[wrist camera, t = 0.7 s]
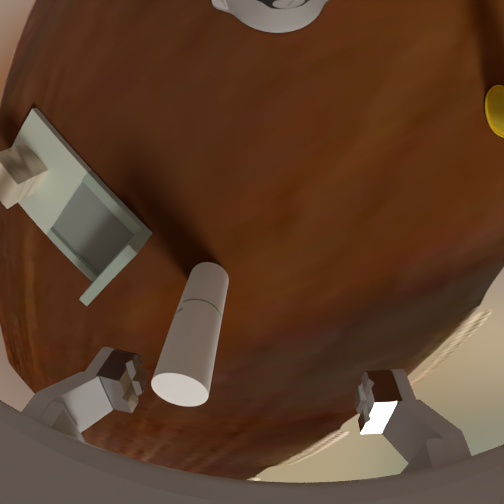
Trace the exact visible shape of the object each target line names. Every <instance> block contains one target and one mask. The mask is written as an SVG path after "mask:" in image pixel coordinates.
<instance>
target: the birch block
mask: <svg viewBox="0 0 504 504" xmlns="http://www.w3.org/2000/svg"><path fill="white" fill-rule="evenodd" d="M47 171H48V168H47V167H46V166H45V165H44V164H43V162H42V161H41V160H40V159H39V158H38V157H37V155H36V154H35V153H34V152H33V150H32V149H31V148H30V147H29V146H28V144H27V143H23V144H20V145H17V146H15V147H12V148H9V149H6V150H4V151H1V152H0V201H1V202H2V203H3V205H4V206H5V207H6V208H7V209H8V208H9V207H11V206H13V205H14V204H16V203H17V202H19V201H21V200H22V199H24V198H26V197H28V196H29V195H31V194H33V193H34V192H36V191H37V189H38V187H39V185H40V184H41V182H42V180H43V178H44V176H45V175H46V173H47Z"/></svg>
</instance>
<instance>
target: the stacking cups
mask: <svg viewBox="0 0 504 504" xmlns="http://www.w3.org/2000/svg"><path fill="white" fill-rule="evenodd" d="M484 107H485V115H486V119H487V121H488V124H489V126H490V127H491V129H492V130H493V131H494V132H495V133H496V134H497V135H498V136H501V137H504V86H502V85H495V86H493V87H491V88H490V89H489V91H488V92H487V94H486V97H485V104H484Z"/></svg>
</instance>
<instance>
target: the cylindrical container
mask: <svg viewBox="0 0 504 504" xmlns="http://www.w3.org/2000/svg"><path fill="white" fill-rule="evenodd" d="M228 281H229V279H228V275H227V273H226V271H225V270H224V269H223V268H222V267H221V266H219V265H217V264H215V263H211V262H203V263H200V264H198V265H196V266H195V267H194V268H193V269H192V271H191V273H190V276H189V279H188V281H187V284H186V287H185V289H184V292H183V294H182V297H181V300H180V302H179V305H178V308H177V310H176V313H175V316H174V319H173V321H172V324H171V327H170V330H169V332H168V335H167V338H166V341H165V344H164V347H163V350H162V352H161V355H160V358H159V361H158V364H157V367H156V370H155V373H154V376H153V379H152V383H151V385H152V388H153V390H154V391H155V392H156V394H157V395H159V396H160V397H161V398H163V399H164V400H166V401H168V402H171V403H173V404H176V405H181V406H197V405H201V404H203V403H204V402H206V401H207V399H208V396H209V390H210V384H211V378H212V372H213V366H214V361H215V355H216V349H217V343H218V338H219V332H220V326H221V321H222V315H223V310H224V304H225V299H226V293H227V288H228Z"/></svg>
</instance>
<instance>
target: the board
mask: <svg viewBox="0 0 504 504" xmlns="http://www.w3.org/2000/svg"><path fill="white" fill-rule="evenodd" d="M23 143H27V144H28V146H29V147H30V148H31V149H32V150H33V152H34V153H35V154H36V155H37V157H38V158H39V159H40V160H41V161H42V162H43V164H44V165H45V166H46V167H47V168H48V171H47V173H46V175H45V176H44V178H43V180H42V182H41V184H40V185H39V187H38V189H37V191H36V192H34V193H33V194H31V195H29V196H28V197H26V198H24V199H22V200H21V201H19V202H18V203H19V204H20V205H21V206H22V208H23V209H24V210H25V211H26V212H27V214H28V215H29V216H30V217H31V218H32V219H33V221H34V222H35V223H36V224H37V225H38V226H39V227H40V228H41V230H42V231H43V232H44V233H45V234H46V235H47V236H48V237H49V238H50V239H51V241H52V242H53V243H54V244H55V245H56V246H57V247H58V248H59V249H60V250H61V251H62V252H63V253H64V254H65V255H66V256H67V257H68V258H69V259H70V260H71V261H72V262H73V263H74V264H75V265H76V266H77V267H78V268H79V269H80V270H81V271H82V272H83V273H84V274H85V275H86V276H87V277H88V278H89V279H90V280H91V281H92V283H91V284H90V286H89V287H88V288H87V290H86V291H85V292H84V294H83V295H82V296H81V298H80V299H79V300H81V301H82V302H83V303H84V304H85V305H86V306H87V305H88V304H89V303H90V302H91V301H92V300H93V299H94V298H95V297H96V296H97V295H98V294H99V293H100V291H101V290H102V289H103V288H104V287H105V286H106V285H107V284H108V283H109V282H110V281H111V280H112V279H113V278H114V277H115V276H116V275H117V274H118V273H119V272H120V271H121V270H122V269H123V268H124V267H125V266H126V265H127V264H128V262H129V261H130V260H131V259H132V258H133V257H134V256H135V255H136V254H138V252H139V251H140V249H141V248H142V247H143V245H144V244H145V243H146V241H147V240H148V239H149V237H150V236H151V235H152V232H151V231H150V230H149V229H148V228H147V227H146V226H145V225H144V224H143V223H142V222H141V221H140V220H139V219H138V218H137V217H136V216H135V215H134V214H133V213H132V212H131V211H130V210H129V209H128V208H127V206H126V205H125V204H124V203H123V202H122V201H121V200H120V199H119V198H118V197H117V196H116V195H115V194H114V193H113V192H112V191H111V190H110V189H109V188H108V187H107V186H106V185H105V184H104V182H103V181H102V180H101V179H100V178H99V177H98V176H97V175H96V174H95V173H94V172H93V171H92V170H91V168H90V167H89V166H88V165H87V164H86V163H85V162H84V161H83V160H82V159H81V158H80V156H79V155H78V154H77V153H76V152H75V151H74V150H73V149H72V148H71V146H70V145H69V144H68V143H67V142H66V141H65V140H64V139H63V137H62V136H61V135H60V134H59V133H58V132H57V131H56V129H55V128H54V127H53V126H52V125H51V124H50V122H49V121H48V120H47V119H46V118H45V117H44V115H43V114H42V113H41V112H40V111H39V109H38V108H33V109H32V110H31V112H30V113H29V115H28V117H27V119H26V120H25V122H24V124H23V126H22V128H21V130H20V132H19V133H18V135H17V137H16V139H15V141H14V143H13V145H12V147H15V146H17V145H20V144H23Z"/></svg>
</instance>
